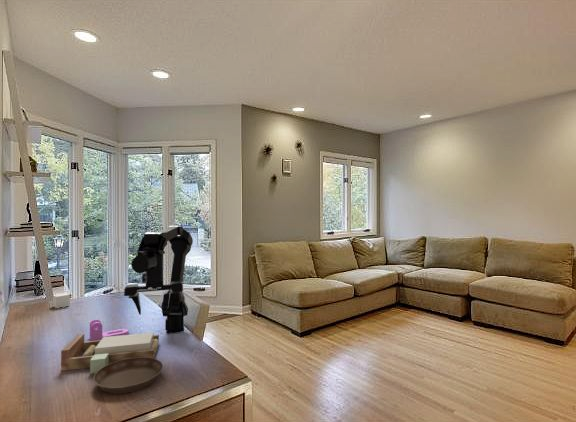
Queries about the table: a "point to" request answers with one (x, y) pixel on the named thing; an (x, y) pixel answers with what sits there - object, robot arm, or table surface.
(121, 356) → the roller track
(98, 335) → the bracket
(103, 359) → the block
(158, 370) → the plant saucer
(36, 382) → the table surface
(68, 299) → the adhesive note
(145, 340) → the slab
